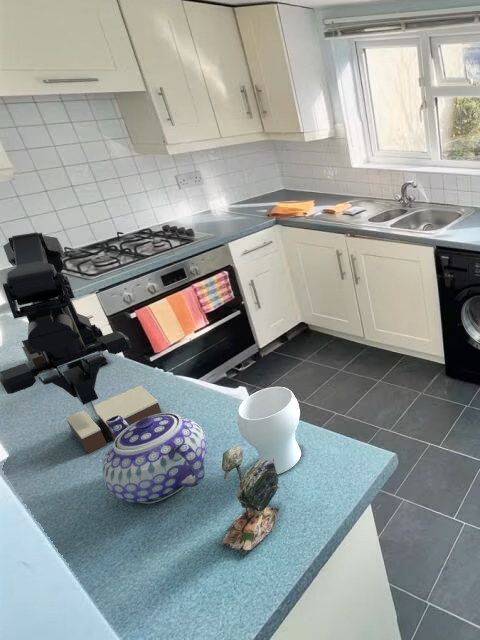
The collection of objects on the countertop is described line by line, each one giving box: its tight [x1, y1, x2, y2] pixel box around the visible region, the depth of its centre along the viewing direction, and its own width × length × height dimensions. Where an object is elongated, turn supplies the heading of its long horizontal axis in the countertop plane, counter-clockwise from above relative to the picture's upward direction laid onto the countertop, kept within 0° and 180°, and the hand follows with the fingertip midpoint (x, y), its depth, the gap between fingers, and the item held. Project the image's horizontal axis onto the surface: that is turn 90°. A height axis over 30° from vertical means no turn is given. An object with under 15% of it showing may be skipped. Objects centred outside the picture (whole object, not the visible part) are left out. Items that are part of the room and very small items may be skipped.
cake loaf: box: [93, 385, 163, 442], centre depth 97 cm, size 9×10×4 cm
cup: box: [236, 386, 302, 475], centre depth 85 cm, size 11×11×15 cm
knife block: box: [21, 346, 47, 367], centre depth 116 cm, size 4×10×5 cm, turn 57°
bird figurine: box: [221, 445, 280, 555], centre depth 72 cm, size 8×11×20 cm
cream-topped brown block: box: [65, 409, 108, 454], centre depth 92 cm, size 3×10×4 cm, turn 57°
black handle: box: [62, 366, 99, 421], centre depth 90 cm, size 2×8×10 cm, turn 57°
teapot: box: [102, 412, 208, 504], centre depth 81 cm, size 25×15×15 cm, turn 66°
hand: (84, 392), depth 90 cm, fingers closed on black handle, 2 cm apart
